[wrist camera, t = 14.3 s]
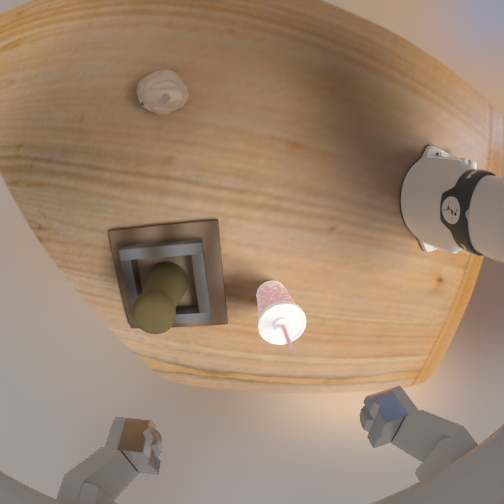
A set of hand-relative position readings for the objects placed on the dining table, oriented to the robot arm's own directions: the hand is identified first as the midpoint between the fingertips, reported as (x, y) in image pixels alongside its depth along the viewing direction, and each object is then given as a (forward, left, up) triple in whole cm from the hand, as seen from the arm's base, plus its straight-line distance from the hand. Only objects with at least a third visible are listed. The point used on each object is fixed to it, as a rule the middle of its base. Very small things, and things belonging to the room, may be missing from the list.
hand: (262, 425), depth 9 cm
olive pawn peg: (+10, +6, -30) cm, 32 cm away
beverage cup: (-5, +10, -31) cm, 33 cm away
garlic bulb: (+8, -20, -31) cm, 38 cm away
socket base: (+10, +6, -31) cm, 33 cm away
